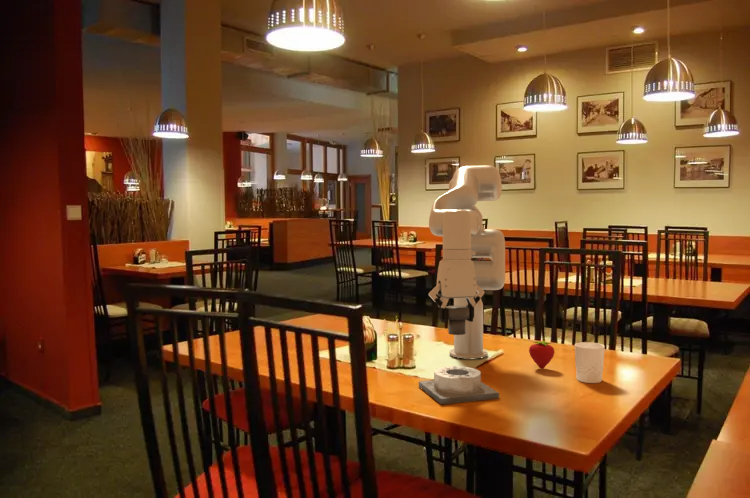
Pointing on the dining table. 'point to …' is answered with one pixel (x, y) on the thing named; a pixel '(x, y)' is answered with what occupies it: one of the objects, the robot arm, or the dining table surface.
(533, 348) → the strawberry
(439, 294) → the robot arm
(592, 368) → the white cup
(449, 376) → the square base disc pedestal
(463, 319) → the cap
